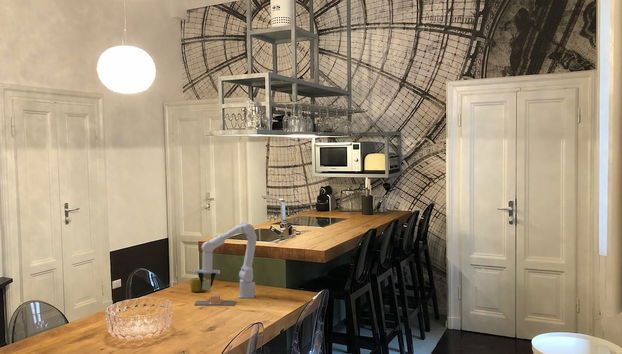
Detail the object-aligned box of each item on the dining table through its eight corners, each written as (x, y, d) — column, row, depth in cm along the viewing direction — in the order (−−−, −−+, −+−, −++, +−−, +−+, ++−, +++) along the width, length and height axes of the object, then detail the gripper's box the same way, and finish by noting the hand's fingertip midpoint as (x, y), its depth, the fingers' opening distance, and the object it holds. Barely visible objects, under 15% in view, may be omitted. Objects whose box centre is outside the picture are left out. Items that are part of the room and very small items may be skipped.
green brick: (211, 287, 298) (211, 280, 298) (210, 289, 293) (210, 282, 293) (203, 287, 298) (203, 280, 298) (202, 289, 293) (202, 282, 293)
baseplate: (235, 302, 293) (235, 300, 293) (234, 305, 285) (234, 304, 285) (196, 301, 291) (196, 300, 291) (194, 305, 283) (194, 304, 283)
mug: (206, 290, 310) (202, 274, 312) (190, 295, 310) (186, 279, 312) (211, 290, 322) (207, 274, 324) (196, 294, 322) (192, 279, 324)
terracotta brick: (219, 301, 290) (219, 294, 290) (218, 303, 286) (219, 296, 286) (211, 301, 290) (211, 294, 290) (210, 303, 285) (210, 296, 285)
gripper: (193, 263, 291) (193, 287, 291) (219, 264, 292) (218, 287, 292) (195, 261, 298) (195, 284, 298) (220, 261, 299) (220, 284, 299)
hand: (206, 286), depth 295 cm, fingers closed on green brick, 5 cm apart
